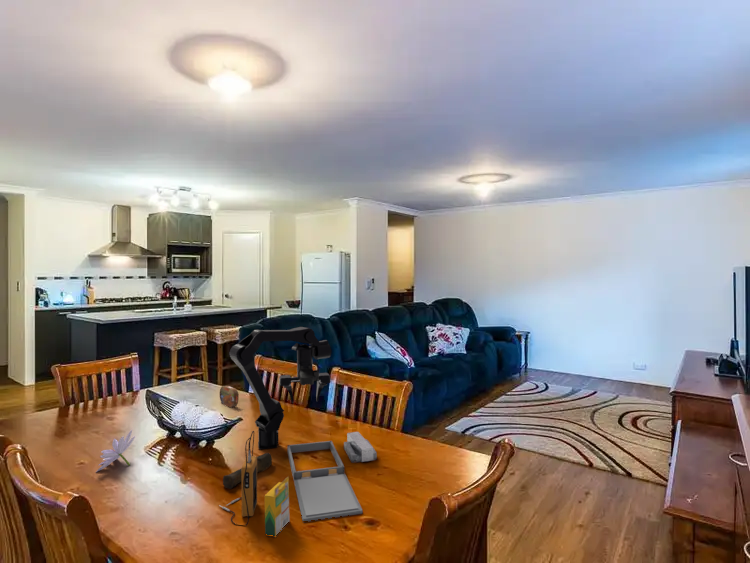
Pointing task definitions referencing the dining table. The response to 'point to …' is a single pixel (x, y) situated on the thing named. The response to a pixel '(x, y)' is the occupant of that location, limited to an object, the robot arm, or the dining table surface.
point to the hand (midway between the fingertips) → (304, 401)
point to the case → (323, 487)
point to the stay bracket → (353, 456)
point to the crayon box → (277, 508)
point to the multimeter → (248, 484)
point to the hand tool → (236, 476)
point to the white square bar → (360, 446)
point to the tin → (229, 396)
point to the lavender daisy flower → (116, 451)
